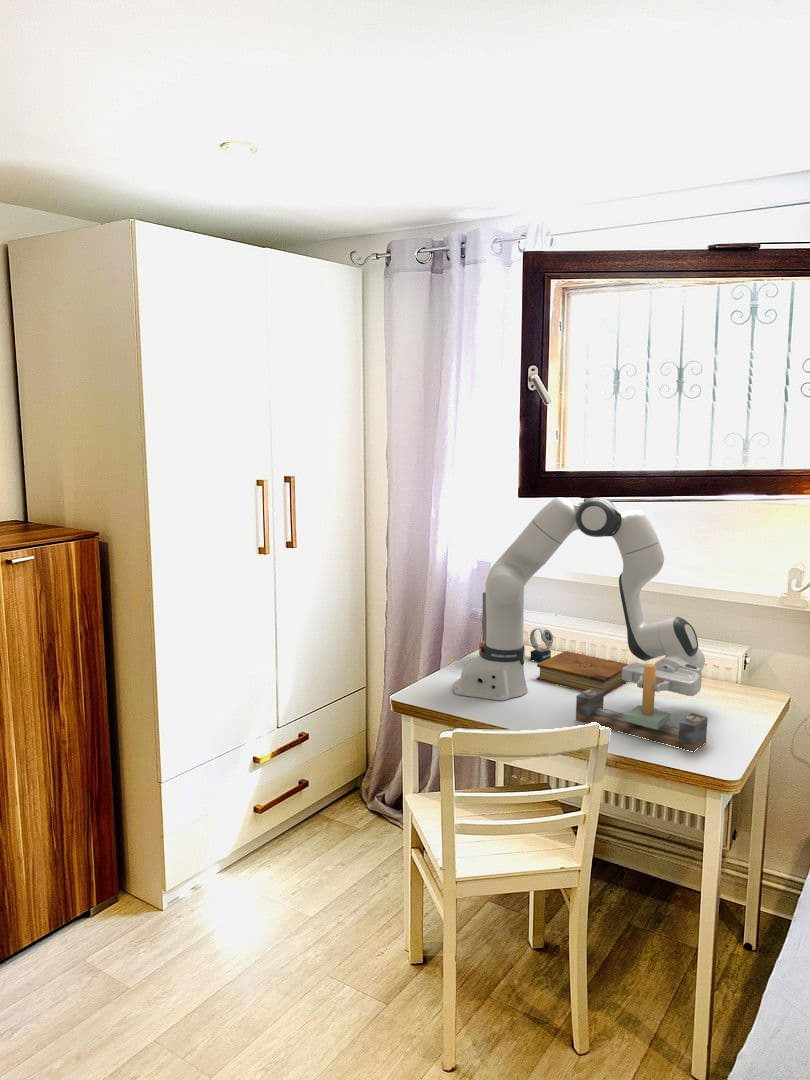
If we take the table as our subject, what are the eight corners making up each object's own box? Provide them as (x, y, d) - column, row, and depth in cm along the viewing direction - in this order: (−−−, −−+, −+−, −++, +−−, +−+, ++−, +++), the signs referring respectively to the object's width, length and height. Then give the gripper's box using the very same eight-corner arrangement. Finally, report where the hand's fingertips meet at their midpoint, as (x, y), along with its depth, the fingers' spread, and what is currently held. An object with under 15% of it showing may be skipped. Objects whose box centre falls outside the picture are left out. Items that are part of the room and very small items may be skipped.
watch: (546, 664, 275) (546, 632, 273) (526, 659, 280) (526, 627, 278) (555, 660, 279) (556, 628, 277) (535, 655, 284) (536, 624, 282)
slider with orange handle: (624, 720, 217) (626, 666, 214) (638, 712, 223) (640, 658, 220) (657, 729, 211) (659, 673, 208) (670, 720, 217) (673, 665, 214)
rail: (575, 720, 227) (576, 694, 225) (590, 711, 233) (590, 686, 231) (693, 752, 205) (695, 724, 204) (706, 742, 211) (707, 715, 210)
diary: (631, 681, 259) (632, 664, 258) (603, 698, 245) (604, 679, 244) (566, 666, 274) (567, 649, 273) (536, 681, 260) (537, 663, 259)
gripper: (634, 654, 231) (611, 666, 221) (707, 669, 218) (685, 683, 207) (634, 676, 232) (610, 689, 222) (706, 692, 219) (684, 707, 209)
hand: (647, 686), depth 215 cm, fingers closed on slider with orange handle, 3 cm apart
